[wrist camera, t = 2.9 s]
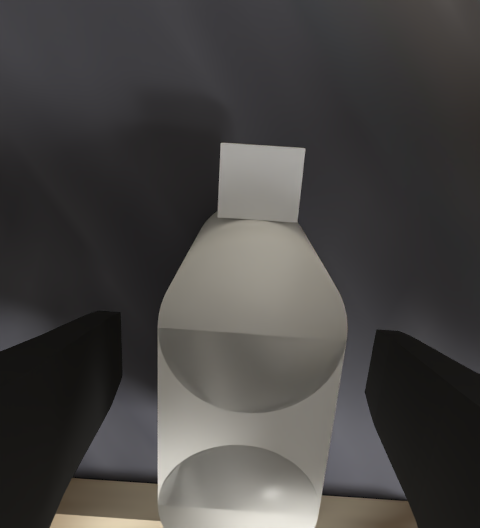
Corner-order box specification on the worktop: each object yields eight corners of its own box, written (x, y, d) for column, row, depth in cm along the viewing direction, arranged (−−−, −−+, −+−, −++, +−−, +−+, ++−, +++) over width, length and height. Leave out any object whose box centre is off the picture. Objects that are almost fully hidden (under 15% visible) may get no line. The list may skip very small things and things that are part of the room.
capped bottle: (322, 148, 11) (377, 155, 6) (289, 426, 14) (308, 573, 9) (196, 140, 11) (156, 140, 6) (188, 419, 14) (158, 562, 9)
